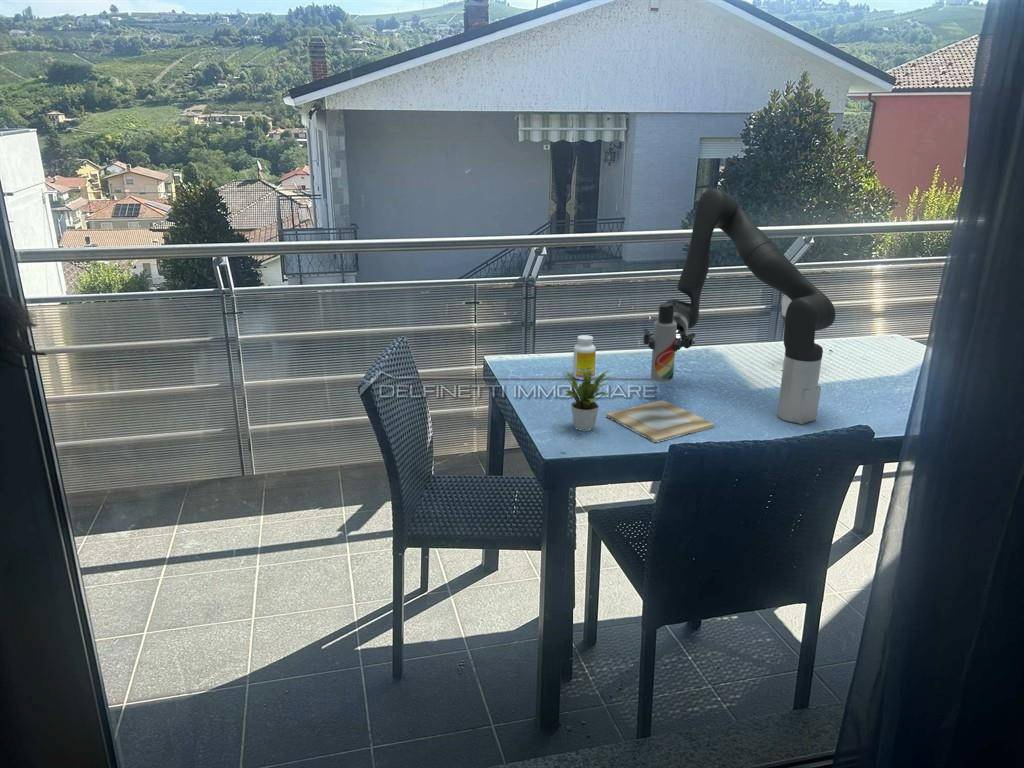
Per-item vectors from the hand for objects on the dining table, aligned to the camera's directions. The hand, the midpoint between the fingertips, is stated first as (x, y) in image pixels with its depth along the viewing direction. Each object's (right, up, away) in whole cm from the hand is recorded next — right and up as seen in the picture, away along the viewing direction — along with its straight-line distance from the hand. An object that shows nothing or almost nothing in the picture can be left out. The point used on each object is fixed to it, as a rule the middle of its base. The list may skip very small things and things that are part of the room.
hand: (663, 346), depth 199 cm
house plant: (-19, -21, +5) cm, 29 cm away
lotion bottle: (+1, -8, +6) cm, 10 cm away
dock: (+1, -20, +10) cm, 22 cm away
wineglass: (+50, -5, +53) cm, 73 cm away
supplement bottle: (-16, -8, +43) cm, 46 cm away
